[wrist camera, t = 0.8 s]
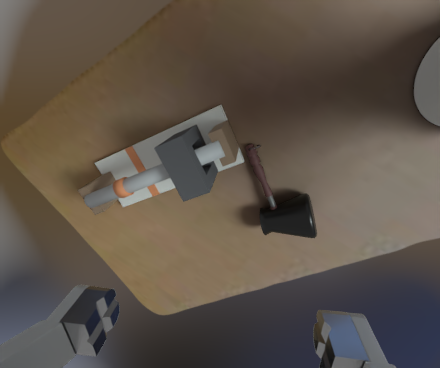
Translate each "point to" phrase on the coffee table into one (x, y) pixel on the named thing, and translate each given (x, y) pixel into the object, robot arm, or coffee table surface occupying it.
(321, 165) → the coffee table surface
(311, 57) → the coffee table surface
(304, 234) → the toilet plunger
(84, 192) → the rail
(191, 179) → the collar
